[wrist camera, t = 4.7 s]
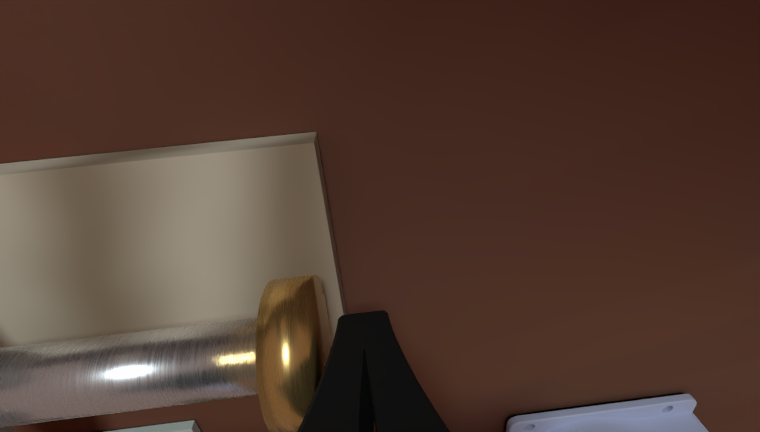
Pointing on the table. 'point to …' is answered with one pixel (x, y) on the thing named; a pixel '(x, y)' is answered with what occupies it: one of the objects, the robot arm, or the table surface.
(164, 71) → the table surface
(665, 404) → the robot arm
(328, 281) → the shaft bracket
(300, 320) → the shaft
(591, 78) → the table surface
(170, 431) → the pale green mat
